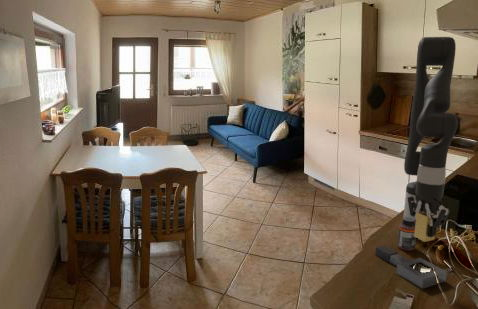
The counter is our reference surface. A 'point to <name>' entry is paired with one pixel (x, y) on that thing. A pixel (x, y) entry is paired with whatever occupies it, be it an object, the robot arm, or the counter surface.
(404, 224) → the supplement bottle
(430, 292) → the counter surface
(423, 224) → the peg
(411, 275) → the grey square paddle
